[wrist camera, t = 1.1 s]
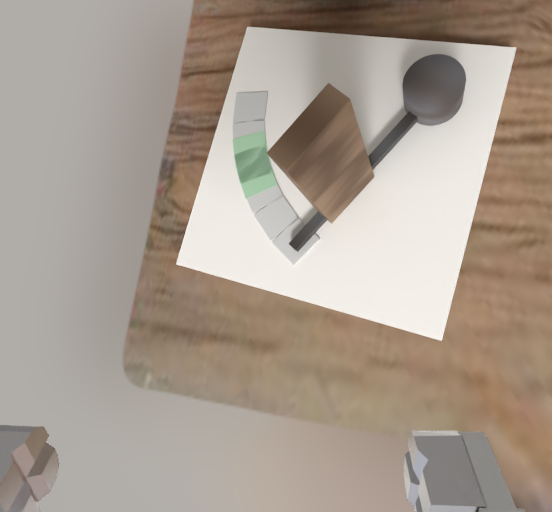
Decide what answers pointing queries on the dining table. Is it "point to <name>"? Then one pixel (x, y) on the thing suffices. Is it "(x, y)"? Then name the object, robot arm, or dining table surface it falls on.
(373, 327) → the dining table surface
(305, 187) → the lever
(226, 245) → the dial board
